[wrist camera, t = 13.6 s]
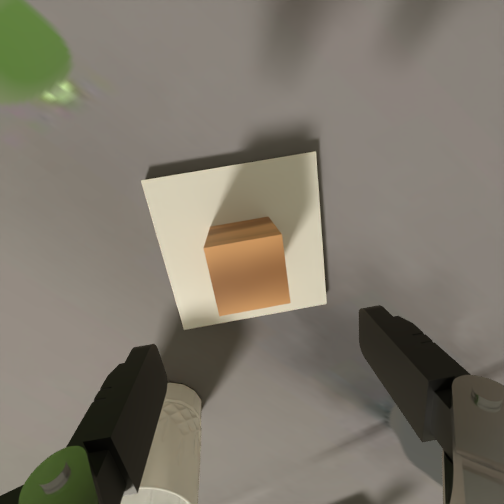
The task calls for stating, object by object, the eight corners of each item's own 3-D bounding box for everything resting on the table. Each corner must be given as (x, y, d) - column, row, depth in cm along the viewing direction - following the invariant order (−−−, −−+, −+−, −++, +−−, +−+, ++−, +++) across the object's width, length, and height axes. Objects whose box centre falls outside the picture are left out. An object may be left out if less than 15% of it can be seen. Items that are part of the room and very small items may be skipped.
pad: (144, 179, 21) (140, 180, 20) (312, 151, 22) (315, 151, 21) (185, 323, 26) (184, 329, 25) (323, 298, 26) (326, 303, 25)
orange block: (210, 226, 22) (203, 248, 16) (268, 216, 22) (282, 234, 16) (221, 279, 23) (219, 316, 18) (275, 269, 24) (290, 303, 18)
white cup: (221, 399, 29) (217, 511, 20) (179, 440, 31) (157, 563, 21) (162, 365, 27) (126, 472, 18) (120, 411, 29) (67, 533, 19)
